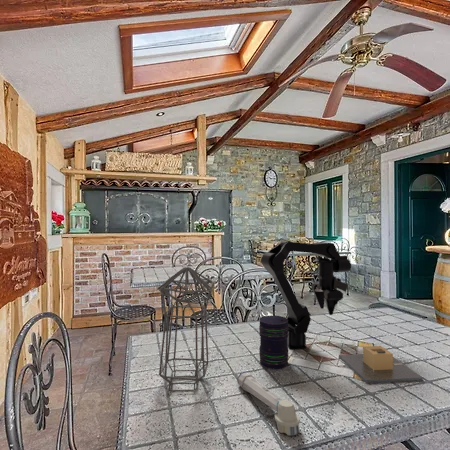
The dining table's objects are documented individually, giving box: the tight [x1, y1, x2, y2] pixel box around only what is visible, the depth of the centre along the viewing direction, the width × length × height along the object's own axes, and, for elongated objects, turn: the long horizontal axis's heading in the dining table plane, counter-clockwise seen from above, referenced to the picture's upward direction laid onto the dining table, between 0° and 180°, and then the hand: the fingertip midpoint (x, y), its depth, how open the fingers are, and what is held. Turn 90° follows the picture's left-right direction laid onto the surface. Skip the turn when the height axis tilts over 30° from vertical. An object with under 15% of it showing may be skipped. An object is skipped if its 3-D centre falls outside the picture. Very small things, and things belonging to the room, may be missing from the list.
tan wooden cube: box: [362, 345, 394, 370], centre depth 102 cm, size 6×6×6 cm
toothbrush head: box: [237, 372, 301, 436], centre depth 80 cm, size 5×7×25 cm
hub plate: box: [338, 351, 424, 384], centre depth 102 cm, size 18×18×6 cm
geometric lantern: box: [156, 266, 214, 392], centre depth 93 cm, size 16×16×35 cm
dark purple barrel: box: [258, 315, 289, 371], centre depth 106 cm, size 10×10×15 cm
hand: (326, 311), depth 126 cm, fingers open, 9 cm apart
